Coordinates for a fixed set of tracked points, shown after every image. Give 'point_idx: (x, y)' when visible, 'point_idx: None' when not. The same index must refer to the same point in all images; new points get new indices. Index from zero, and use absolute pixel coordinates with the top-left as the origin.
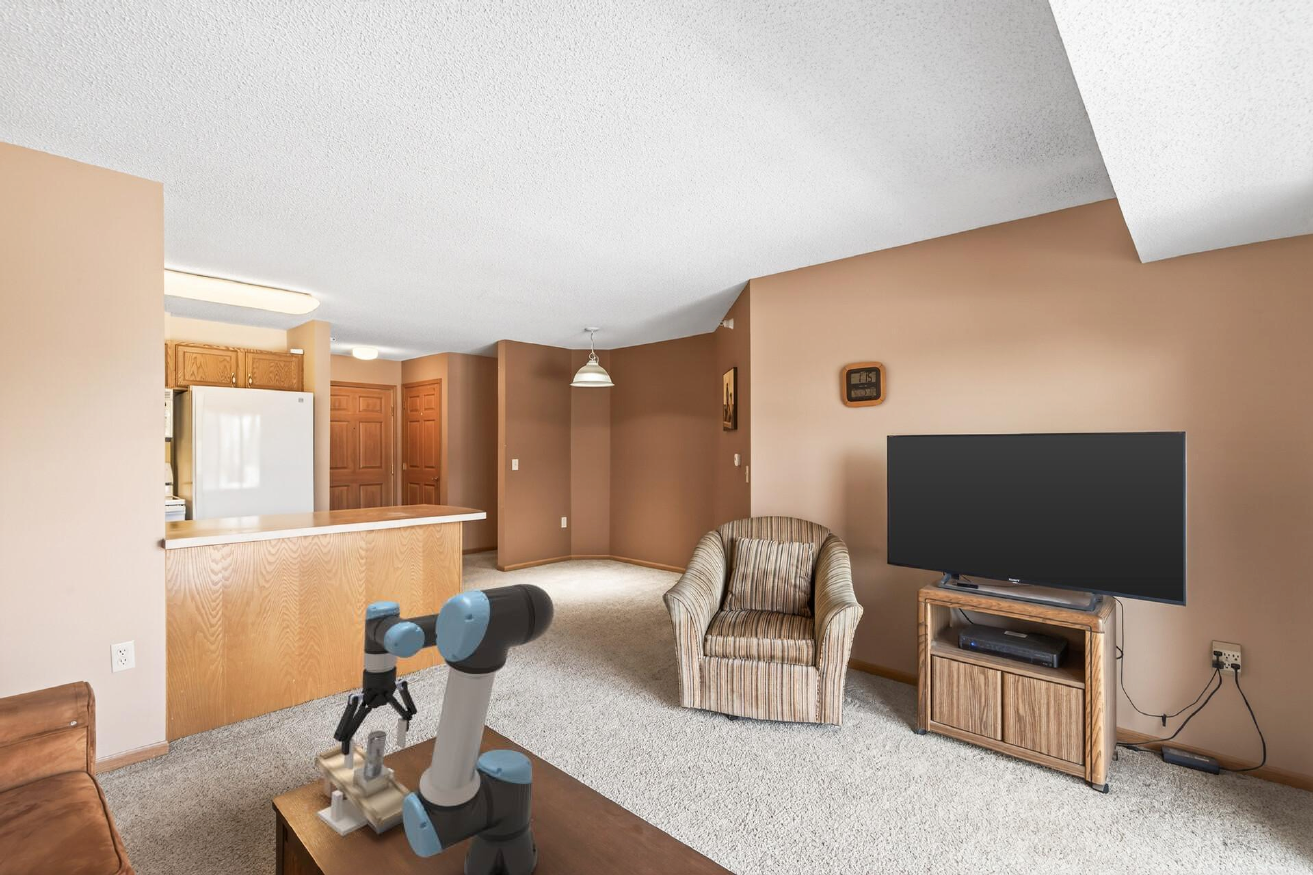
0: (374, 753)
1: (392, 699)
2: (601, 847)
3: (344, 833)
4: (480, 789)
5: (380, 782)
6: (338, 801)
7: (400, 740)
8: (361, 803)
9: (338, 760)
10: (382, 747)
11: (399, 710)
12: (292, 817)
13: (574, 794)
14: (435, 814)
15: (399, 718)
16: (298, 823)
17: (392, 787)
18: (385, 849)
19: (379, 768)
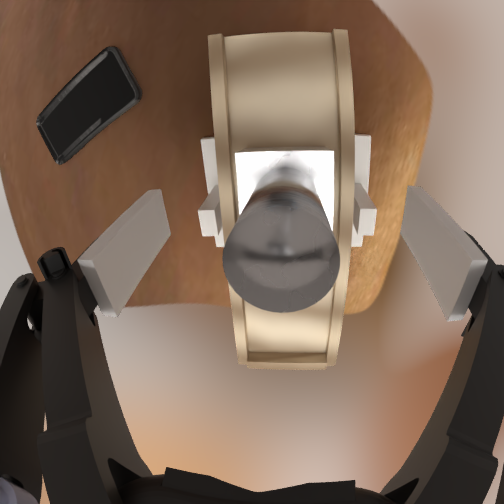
0: (310, 193)
1: (76, 488)
2: None
3: (364, 134)
4: None
5: (276, 149)
6: (367, 201)
7: (153, 222)
8: (353, 119)
9: (295, 334)
10: (267, 192)
11: (73, 335)
12: (385, 270)
13: (2, 6)
14: None
15: (110, 313)
16: (391, 246)
17: (236, 140)
18: (325, 15)
19: (275, 171)
